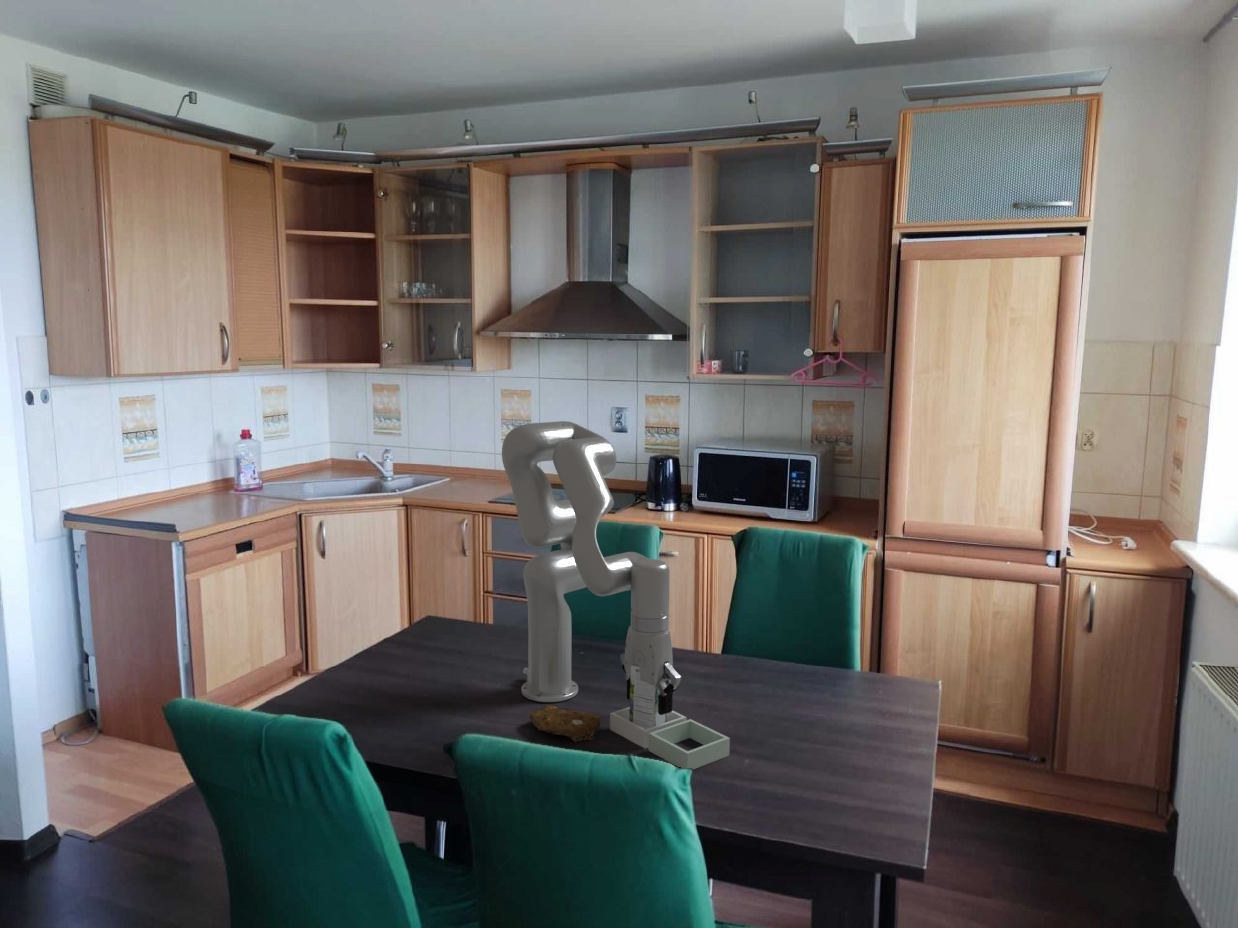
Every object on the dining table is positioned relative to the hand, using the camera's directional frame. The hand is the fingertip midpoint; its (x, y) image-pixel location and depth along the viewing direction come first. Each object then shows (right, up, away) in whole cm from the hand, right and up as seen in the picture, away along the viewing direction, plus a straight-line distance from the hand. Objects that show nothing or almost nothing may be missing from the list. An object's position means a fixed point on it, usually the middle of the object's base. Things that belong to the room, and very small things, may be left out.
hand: (649, 705), depth 184 cm
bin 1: (0, -6, +1) cm, 6 cm away
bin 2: (+7, -7, -8) cm, 13 cm away
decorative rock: (-17, -6, +1) cm, 18 cm away
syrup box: (0, -6, +1) cm, 6 cm away
